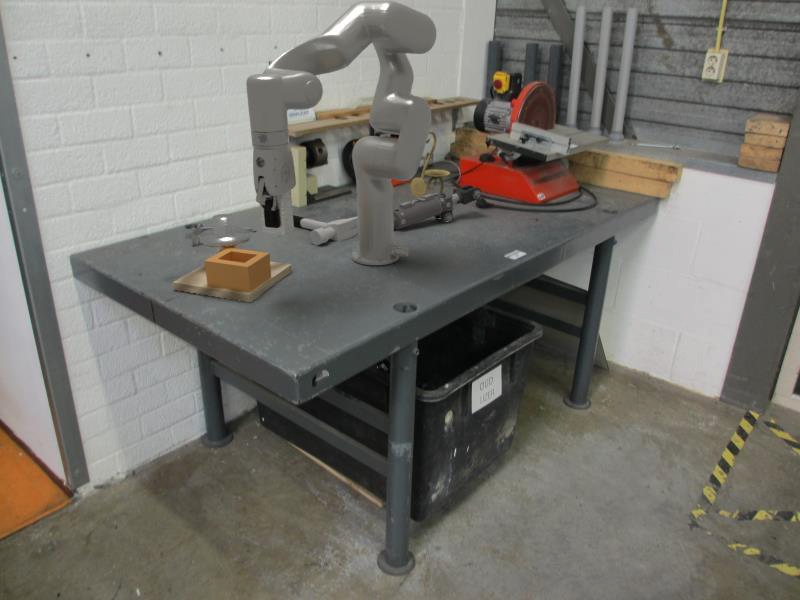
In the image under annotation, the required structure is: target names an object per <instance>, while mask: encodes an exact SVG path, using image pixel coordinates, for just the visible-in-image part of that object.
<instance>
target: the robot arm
mask: <svg viewBox="0 0 800 600" xmlns="http://www.w3.org/2000/svg"><path fill="white" fill-rule="evenodd" d="M436 40H437V28H436V24H435V22H434V21H433V19H432V18H431V17H430V16H429V15H428V14H425V13H423V12H421V11H418V10H416V9H414V8H412V7H409V6H407V5H405V4H402V3H400V2H396V1H393V0H362V1H358V2H356V3H354V4H352V5H351V6H350V7H349V8H347V9H346V10H345V12H343V13H342V14H341V15H340V17H338V18H337V19H336V20H335V21H334V22H333V23H332V24H331V25H330V26H328V28H326V29H325V30H324V31H323V32H322V33H320V34H319V35H317V36H314V37H312V38H310V39H308V40H306V41H304V42H302V43H300V44H298V45H295V46H294V47H292V48H290V49H288V50H286V51H285V52H284V53H282V54H281V55H279V56H278V57H277V58H276V59H275V60H273V62H272V63H270V64H269V65H268V66H267V68H265V69H264V70H263V72H262V73H257V74H252V75H249V76H248V77H247V79H246V82H245V83H246V95H247V97H246V98H247V105H248V106H247V107H248V115H249V116H248V117H249V124H250V125H249V126H250V134H251V135H250V136H251V145H252V146H251V147H253V148H252V149H253V151H252V152H253V153H252V171H253V172H252V173H253V176H252V177H253V185H254V191H255V194H256V197H255V202H257V203H258V204H259V205H260V204H261V206H262V209H263V210H264V219H265V226H266V227H270V228H279V227H280V225H279V213H278V210H277V209H276V197H279V196H281V195H282V194H283V193H285V192H287V191H289V190H291V191H292V190H293V189H294V188H295V187H296V184H297V180H296V169H295V162H294V156H293V150H292V147H291V143H290V136H289V135H290V134H289V133H290V132H289V120H288V111H289V110H300V111H302V110H309V109H313V108H314V107H316V106H317V105H318V104H319V103H320V102H321V100H322V98H323V93H324V92H323V91H324V90H323V84H322V81H320V79H319V77H318V76H320V75H323V74H324V75H325V74H331V73H334V72H338V71H341V70H344V69H346V68H347V67H349V66H350V65H351V64H352V63H353V62H354V61H355V60H356V59H357V57H358V56H360V55H361V53H363V51H364V50H366V49H367V48H368V47H369V46H370V45H371V44H372V45H373V47H374V50H375V52H376V55H377V58H378V62H379V63H378V64H379V68H380V69H379V75H378V76H379V77H378V81H377V84H376V88H375V92H374V95H373V100H372V103H371V107H370V111H369V119H368V120H369V124H370V126H371V127H372V128H373V130H376V131H377V132H380V133H384V134H390V135H396V136H397V135H398V139H396V138H390V137H383V136H377V135H369V136H368V135H367V136H364V137H361V138H359V139H358V140H357V141H356V143H355V144H354V145H353V148H352V152H351V153H352V154H351V158H352V159H351V160H352V165H353V170H354V175H355V181H356V182H355V183H356V212H357V213H356V214H357V215H356V216H357V234H356V236H357V248H356V249H354V250H353V251H352V253H351V258H352V261H354V262H355V263H358V264H361V265H365V266H386V265H390V264H393V263H396V262H397V261H398V260H399V259H400V257H406V258H407V257H408V256H409V249H408V248H407V246H399V245H398V240H395V239H394V235H395V234H394V233H395V232H394V229H395V228H394V210H395V192H394V191H395V190H394V187H393V184H392V181H391V180H395V181H399V182H400V181H401V182H402V181H404V182H406V181H410V180H411V179H413V178H415V177H414V176H415V175H416V174H417V172H418V170H419V167H420V165H421V161H422V157H423V155H424V151H425V147H426V144H427V143H426V141H427V140H428V137H429V135H430V134H429V131H431V130H430V128H431V125H432V110H431V106H430V104H429V103H428V101H427V100H426V99H425V98H423V97H421V96H418V95H412V94H411V92H412V89H413V84H414V77H415V76H414V71H413V67H412V65H411V62H410V60H409V58H408V56H407V54H411V55H413V54H414V55H415V54H416V55H423V54H426V53H429V51H431V49H433V47H434V46H435V42H437V41H436ZM266 192H268V193H269V194H266ZM267 198H271V202H270V201H269V200H267Z"/></svg>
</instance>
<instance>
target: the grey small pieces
mask: <svg viewBox="0 0 800 600" xmlns="http://www.w3.org/2000/svg"><path fill="white" fill-rule="evenodd" d="M243 228H244V229H246V230H248V231H249V232H252V233H253V232H254V231H256V232H257V231H258V230H257V229H254V227H253V228H252V227H243ZM209 229H214V226H212V227H211V226H206V227H205V226H203V227H202V225H201V224H200V223H198V224H196V223H194V226H193V227H192V229H191V233H190V237H191V244H192V246H194V247H196V245H197V244H198V245H199V246H201V245H203V244H201V243H200V240H199V239H198V238H197V237H198V236H199V235H200V234H201V233H202V232H204V231H206V230H209ZM197 239H198V241H197ZM197 242H198V243H197Z"/></svg>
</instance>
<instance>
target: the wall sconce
mask: <svg viewBox="0 0 800 600" xmlns="http://www.w3.org/2000/svg"><path fill="white" fill-rule="evenodd" d="M430 134H431V135H432V138H433V145H432V147H431V149H430V151H429V154H428V156H427V157H426V161H425V162H424V165H423V167H422V172H421V176H420V177H414V178H412V181H411V183H410V190H411V193H412V194H413V196H414V197H416V198H420V199H421V198H422V196H425V195H427V194H426V193H427V190H428V191H429V192H432V191H434V190H436V189H435V187H434V186H437V183H438V181H437V180H438V179H439V181H440V190H439V192H438V194H440V193H443V192H444V187H445V186H444V180H443V177H447V176H449V175H450V174H451V173H450V171H448V170H445V169H436V168H435V169H427V167H428V165H429V162H430V160H431V158H432V156H433V153H434V151H435V149H436V146H437V142H438V141H437V139H438V138H437V135H436V133H435V131H433V130H429V134H428V135H430ZM430 142H431V140H430V138H427V141H426V144H429V143H430ZM425 176H426V177H427V176H428V177H430V178H429V180H428V182H427V184H426V181H424V179H425ZM433 180H434V181H433ZM432 181H433V183H432ZM431 183H432V184H433V187H431Z"/></svg>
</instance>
